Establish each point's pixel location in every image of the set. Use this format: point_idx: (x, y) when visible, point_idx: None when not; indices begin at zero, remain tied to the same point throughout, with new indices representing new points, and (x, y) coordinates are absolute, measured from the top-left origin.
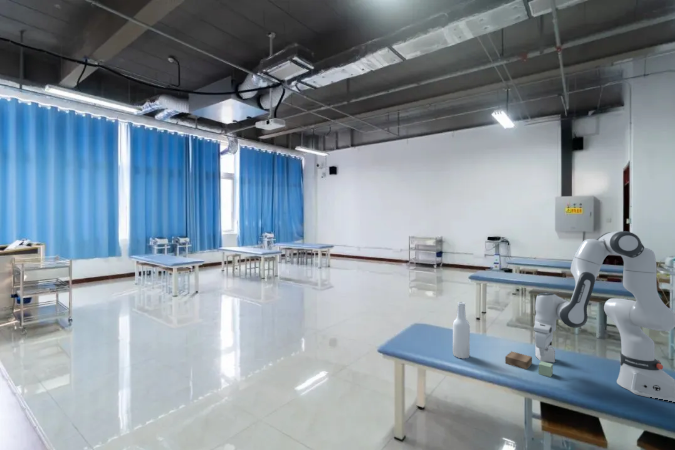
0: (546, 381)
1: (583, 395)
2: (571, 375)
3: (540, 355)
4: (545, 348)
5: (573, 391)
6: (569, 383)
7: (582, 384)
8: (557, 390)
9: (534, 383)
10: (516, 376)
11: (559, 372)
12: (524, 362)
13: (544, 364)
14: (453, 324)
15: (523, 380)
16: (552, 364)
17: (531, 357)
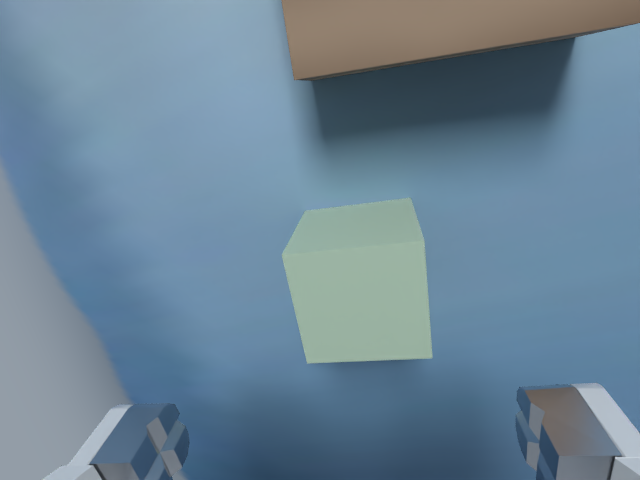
0: (211, 298)
1: (224, 467)
2: (510, 392)
3: (119, 410)
4: (545, 453)
5: (224, 431)
6: (327, 403)
7: (385, 454)
8: (146, 374)
9: (91, 251)
10: (54, 94)
11: (506, 320)
12: (291, 49)
13: (329, 302)
14: None
15: (50, 174)
16: (412, 358)
17: (599, 30)
